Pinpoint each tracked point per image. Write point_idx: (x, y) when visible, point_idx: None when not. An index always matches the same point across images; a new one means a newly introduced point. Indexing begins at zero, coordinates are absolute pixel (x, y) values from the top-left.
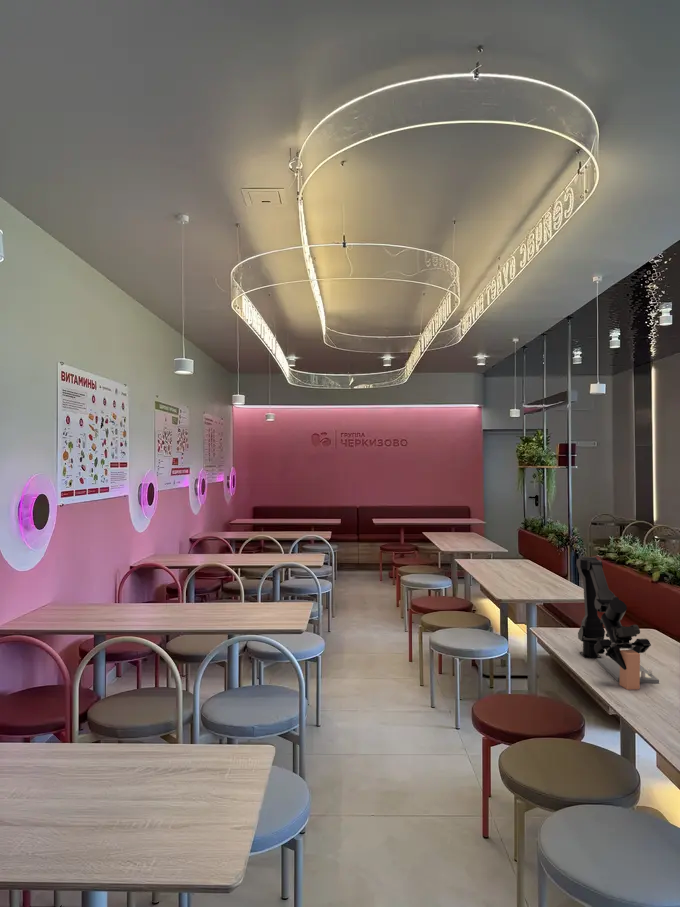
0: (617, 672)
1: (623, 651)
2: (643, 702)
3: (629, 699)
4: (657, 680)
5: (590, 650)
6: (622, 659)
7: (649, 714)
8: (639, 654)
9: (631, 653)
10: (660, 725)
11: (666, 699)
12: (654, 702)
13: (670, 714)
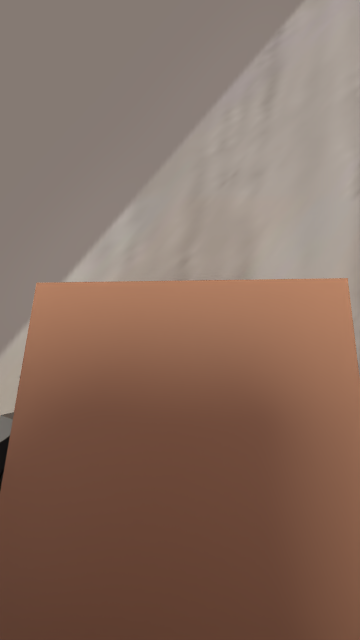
0: None
1: (347, 536)
2: (251, 208)
3: (298, 240)
4: (10, 417)
5: None
6: None
7: (302, 106)
8: (56, 285)
9: (211, 322)
10: (317, 32)
11: (128, 235)
12: (201, 208)
13: (217, 110)
